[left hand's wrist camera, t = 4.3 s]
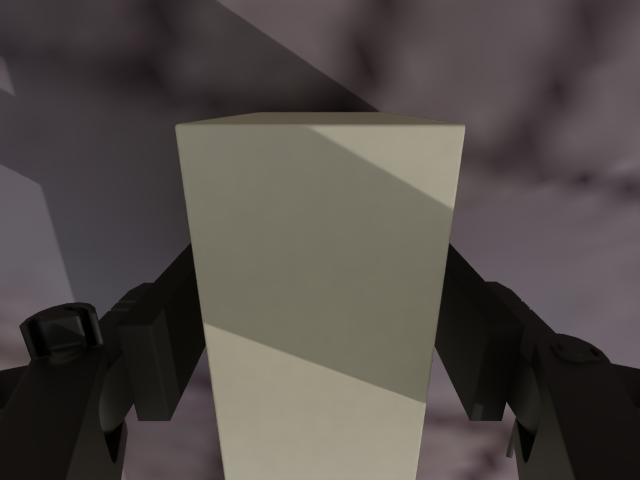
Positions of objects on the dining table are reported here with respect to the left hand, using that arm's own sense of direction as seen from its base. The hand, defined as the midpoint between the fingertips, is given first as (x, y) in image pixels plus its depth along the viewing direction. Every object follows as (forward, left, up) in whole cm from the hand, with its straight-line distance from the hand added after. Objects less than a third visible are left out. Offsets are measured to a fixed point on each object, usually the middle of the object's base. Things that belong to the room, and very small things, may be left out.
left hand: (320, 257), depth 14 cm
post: (+26, 0, -1) cm, 27 cm away
